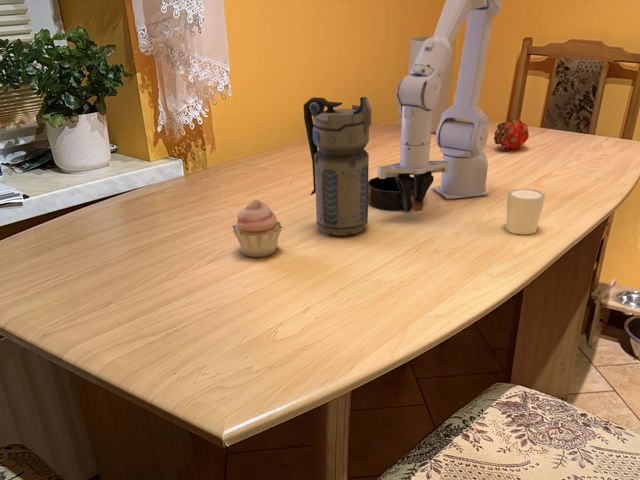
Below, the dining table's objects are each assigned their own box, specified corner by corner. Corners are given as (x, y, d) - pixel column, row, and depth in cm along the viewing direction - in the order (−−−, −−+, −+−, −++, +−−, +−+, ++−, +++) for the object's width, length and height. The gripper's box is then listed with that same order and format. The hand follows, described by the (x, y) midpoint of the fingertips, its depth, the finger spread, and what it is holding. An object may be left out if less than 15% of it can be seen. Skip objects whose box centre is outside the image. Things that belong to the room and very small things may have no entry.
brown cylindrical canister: (321, 215, 133) (318, 88, 120) (379, 224, 128) (382, 92, 115) (296, 231, 126) (290, 98, 113) (356, 242, 120) (357, 103, 107)
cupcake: (243, 265, 113) (237, 211, 108) (228, 247, 120) (222, 195, 115) (292, 255, 116) (289, 202, 111) (274, 238, 123) (271, 187, 118)
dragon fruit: (493, 159, 171) (516, 156, 179) (520, 144, 164) (542, 142, 172) (482, 129, 171) (506, 128, 179) (508, 113, 164) (532, 112, 172)
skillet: (360, 195, 144) (360, 177, 142) (410, 190, 146) (411, 172, 144) (389, 226, 127) (390, 207, 125) (445, 220, 129) (447, 201, 127)
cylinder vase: (404, 133, 191) (408, 41, 178) (406, 124, 201) (411, 36, 188) (447, 134, 189) (454, 41, 176) (447, 124, 199) (454, 36, 186)
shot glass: (540, 224, 126) (546, 189, 122) (538, 237, 120) (544, 201, 117) (504, 221, 128) (509, 187, 124) (501, 233, 122) (506, 198, 119)
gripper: (386, 150, 118) (384, 220, 126) (458, 143, 121) (452, 212, 128) (374, 141, 124) (373, 208, 131) (444, 135, 127) (439, 201, 134)
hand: (411, 209), depth 130 cm, fingers closed on skillet, 2 cm apart
